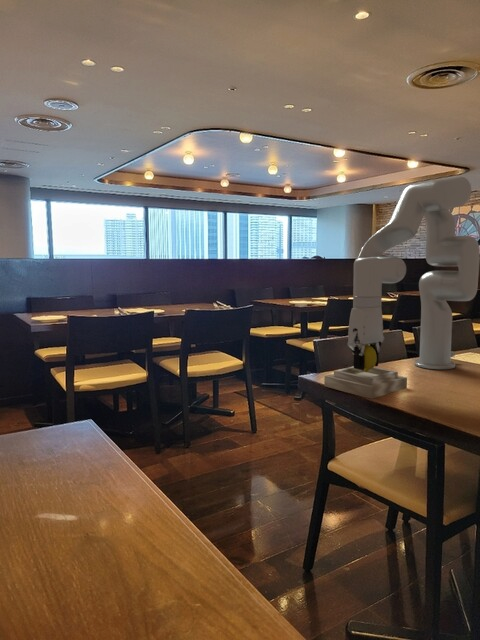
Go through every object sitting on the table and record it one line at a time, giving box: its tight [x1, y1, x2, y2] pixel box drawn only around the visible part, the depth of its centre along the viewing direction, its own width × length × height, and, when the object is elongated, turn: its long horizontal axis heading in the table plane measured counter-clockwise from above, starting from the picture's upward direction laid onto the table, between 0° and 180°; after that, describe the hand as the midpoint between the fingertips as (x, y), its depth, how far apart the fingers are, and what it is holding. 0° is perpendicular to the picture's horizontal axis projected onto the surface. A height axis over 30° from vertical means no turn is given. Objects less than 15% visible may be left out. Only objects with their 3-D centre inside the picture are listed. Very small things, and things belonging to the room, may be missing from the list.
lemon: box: [358, 345, 377, 372], centre depth 128 cm, size 6×6×8 cm
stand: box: [323, 365, 408, 400], centre depth 129 cm, size 16×16×4 cm
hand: (366, 366), depth 128 cm, fingers closed on lemon, 5 cm apart
